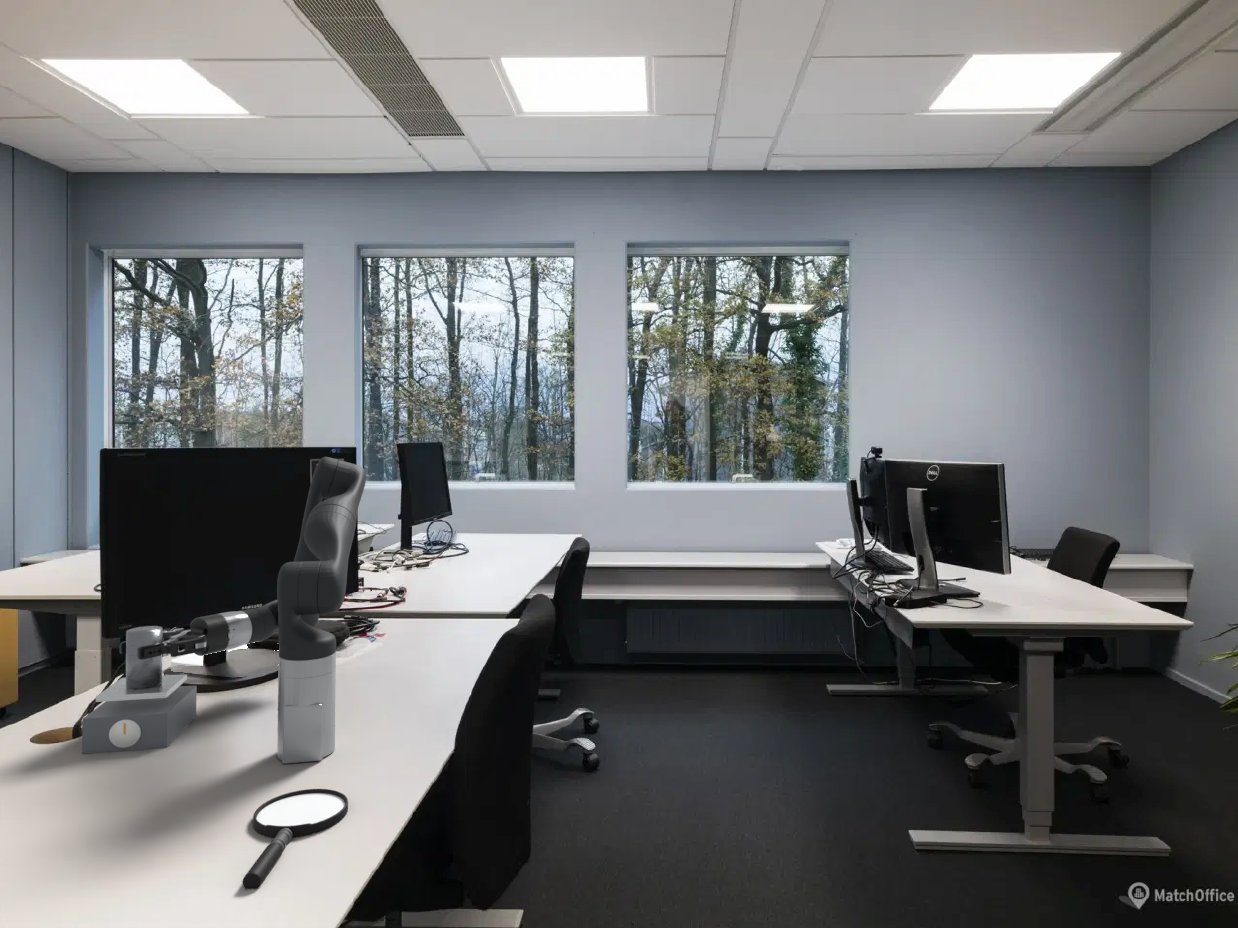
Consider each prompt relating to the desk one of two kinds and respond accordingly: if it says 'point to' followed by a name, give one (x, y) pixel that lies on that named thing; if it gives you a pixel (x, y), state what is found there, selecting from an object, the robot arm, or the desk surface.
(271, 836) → the magnifying glass
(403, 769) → the desk surface
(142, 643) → the cylinder
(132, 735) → the scale base
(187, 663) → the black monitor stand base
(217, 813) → the desk surface
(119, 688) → the scale pan
